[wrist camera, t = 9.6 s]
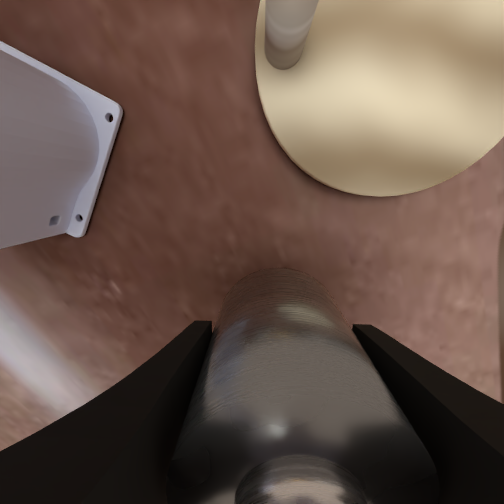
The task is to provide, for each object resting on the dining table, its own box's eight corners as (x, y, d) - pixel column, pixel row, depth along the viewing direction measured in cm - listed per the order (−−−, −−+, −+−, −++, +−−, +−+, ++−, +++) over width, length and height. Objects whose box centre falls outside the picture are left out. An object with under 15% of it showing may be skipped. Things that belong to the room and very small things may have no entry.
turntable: (495, 196, 15) (605, 202, 10) (254, 195, 16) (251, 199, 11) (586, -143, 11) (842, -399, 6) (256, -129, 11) (253, -356, 7)
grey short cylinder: (299, 387, 11) (350, 658, 5) (200, 343, 11) (112, 578, 4) (360, 301, 10) (541, 513, 4) (251, 246, 9) (232, 377, 3)
